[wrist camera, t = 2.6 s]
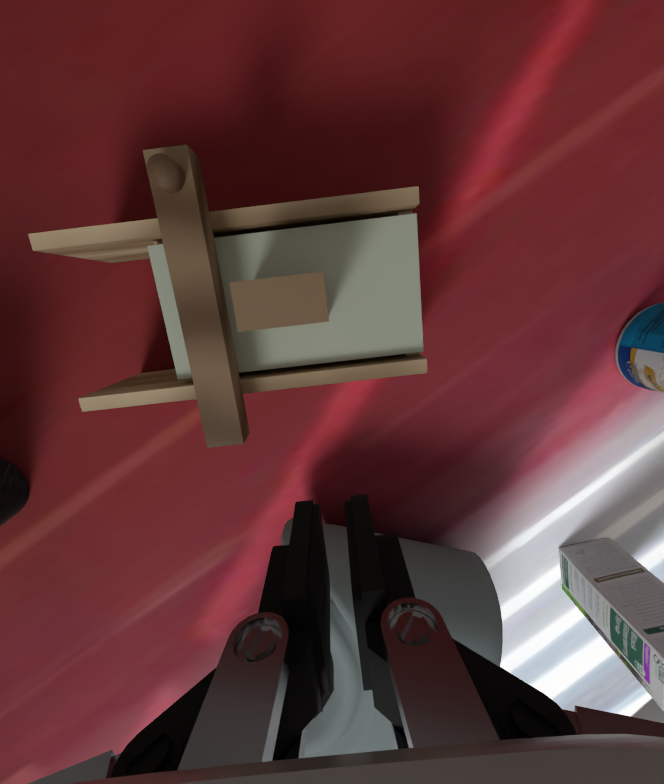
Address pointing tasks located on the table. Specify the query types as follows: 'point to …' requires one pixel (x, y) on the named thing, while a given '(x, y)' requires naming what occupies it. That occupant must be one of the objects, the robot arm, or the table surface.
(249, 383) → the toolbox
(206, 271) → the wooden bar
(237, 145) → the table surface
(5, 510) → the travel mug
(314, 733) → the grey hat
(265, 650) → the robot arm
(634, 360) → the beverage bottle
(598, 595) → the syrup box
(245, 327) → the lid
